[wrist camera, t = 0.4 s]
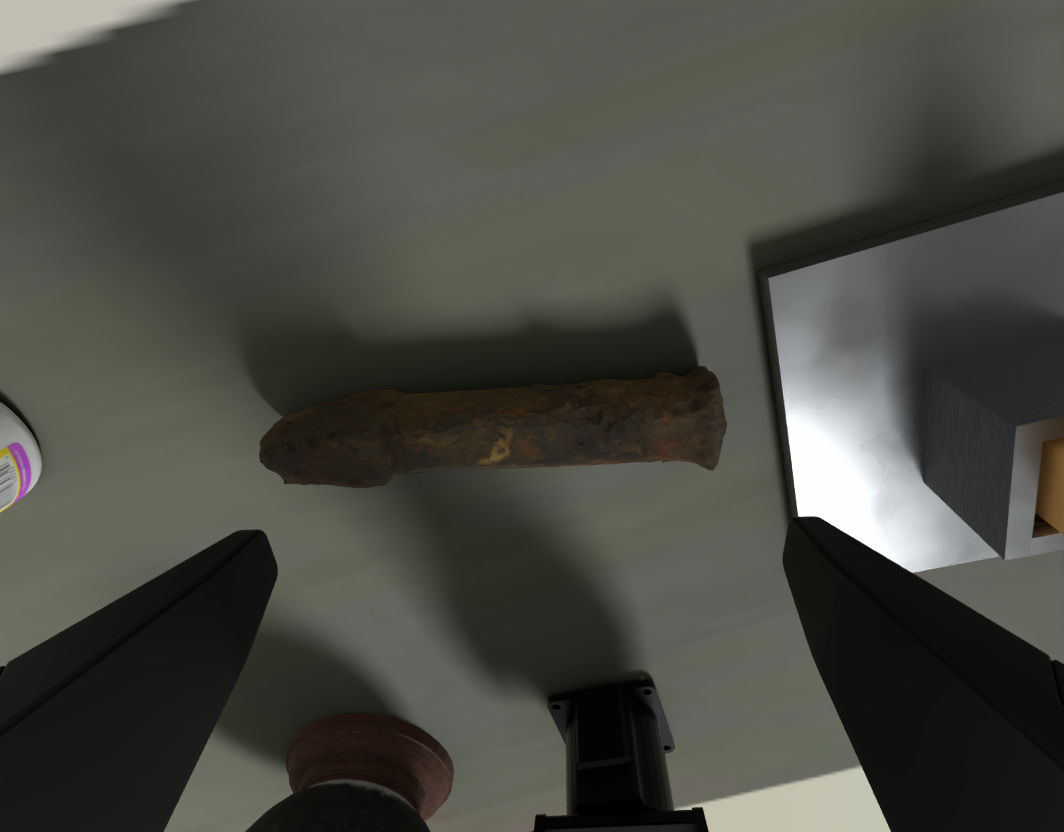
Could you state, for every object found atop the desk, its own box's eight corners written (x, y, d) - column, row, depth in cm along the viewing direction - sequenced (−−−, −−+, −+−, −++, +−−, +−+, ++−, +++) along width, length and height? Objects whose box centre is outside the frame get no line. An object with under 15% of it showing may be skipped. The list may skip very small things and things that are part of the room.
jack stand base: (1164, 503, 25) (1330, 605, 19) (798, 574, 28) (856, 679, 22) (1257, 122, 18) (1553, 119, 12) (757, 270, 21) (825, 318, 15)
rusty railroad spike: (710, 352, 23) (744, 399, 19) (700, 435, 24) (728, 496, 20) (271, 359, 24) (210, 406, 20) (292, 439, 26) (241, 497, 21)
